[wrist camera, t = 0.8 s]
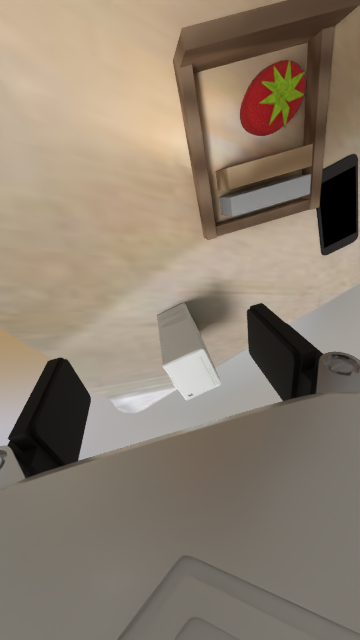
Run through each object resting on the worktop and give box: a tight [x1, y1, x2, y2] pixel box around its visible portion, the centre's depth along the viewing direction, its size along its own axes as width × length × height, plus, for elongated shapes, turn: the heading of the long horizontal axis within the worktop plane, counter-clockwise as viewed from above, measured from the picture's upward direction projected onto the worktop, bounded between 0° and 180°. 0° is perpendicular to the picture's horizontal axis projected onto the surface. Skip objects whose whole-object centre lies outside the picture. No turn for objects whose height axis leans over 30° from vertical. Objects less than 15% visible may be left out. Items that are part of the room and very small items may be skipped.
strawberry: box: [240, 60, 305, 136], centre depth 26 cm, size 6×8×10 cm
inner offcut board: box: [216, 144, 313, 190], centre depth 32 cm, size 2×12×5 cm, turn 104°
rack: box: [173, 0, 360, 240], centre depth 30 cm, size 21×19×6 cm
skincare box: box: [157, 302, 221, 400], centre depth 38 cm, size 8×7×16 cm
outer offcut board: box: [219, 174, 311, 217], centre depth 34 cm, size 2×12×5 cm, turn 104°
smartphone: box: [316, 154, 358, 255], centre depth 39 cm, size 7×15×1 cm, turn 25°
